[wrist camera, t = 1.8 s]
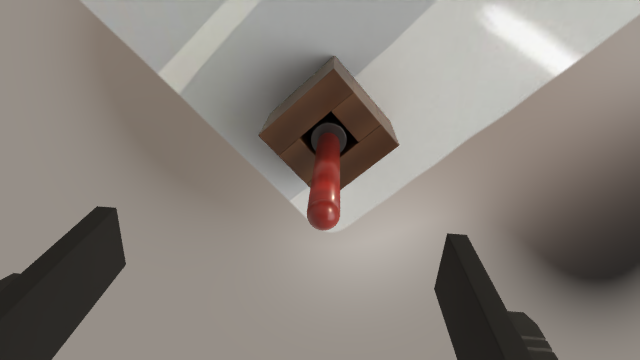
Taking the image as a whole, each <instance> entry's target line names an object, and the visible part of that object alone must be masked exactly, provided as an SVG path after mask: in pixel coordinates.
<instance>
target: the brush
mask: <svg viewBox="0 0 640 360" xmlns="http://www.w3.org/2000/svg"><path fill="white" fill-rule="evenodd" d="M346 142H347V138H346V127H345V126H344V125H343V124H342V123H341V122H340V121H339V120H338V119H337V117H336V116H335V115H334V114H333V113H332V112H331V111H330V112H329V113H328V114H327V115H326V116H324V117H323V118H322V119H321V120H320V121H319V122H317V123H316V124H315V125H314V126H313V130H312V136H311V144H312V146H313V148H314V150H315V151H316V154H315V161H314V168H313V175H312V182H311V188H310V195H309V202H308V209H307V218H308V221H309V222H310V224H311V225H312V226H313V227H314V228H316V229H318V230H329V229H331V228H333V227H334V226H335V225H336V224H337V223H338V221H339V217H340V153H341V152H342V151H343V149H344V148H345V146H346Z"/></svg>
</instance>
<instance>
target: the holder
mask: <svg viewBox="0 0 640 360" xmlns="http://www.w3.org/2000/svg"><path fill="white" fill-rule="evenodd" d="M330 111H331V112H332V113H333V114H334V115H335V116H336V117H337V119H338V120H339V121H340V122H341V123H342V124H343V125H344V126H345V127H346V138H347V142H346V146H345V148H344V149H343V151H342V152H341V153H340V190H341V189H342V188H344V187H345V186H346V185H348V184H349V183H350V182H352V181H353V180H354V179H356V178H357V177H358V176H359V175H361V174H362V173H363V172H365V171H366V170H367V169H369V168H370V167H371V166H373V165H374V164H375V163H377V162H378V161H379V160H381V159H382V158H383V157H384V156H386V155H387V154H388V153H390V152H391V151H392V150H394V149H395V148H396V147H398V146H399V143H398V140H397V138H396V135H395V133H394V130H393V127H392V125H391V122H390V121H389V119H388V118H387V117H386V116H385V115H384V113H383V112H382V111H381V110H380V109H379V108H378V106H377V105H376V104H375V103H374V102H373V100H372V99H371V98H370V97H369V96H368V94H367V93H366V92H365V91H364V90H363V89H362V87H361V86H360V85H359V84H358V83H357V81H356V80H355V79H354V78H353V77H352V76H351V74H350V73H349V72H348V71H347V69H346V68H345V67H344V66H343V65H342V63H341V62H340V61H339V60H338V59H337V58H336V56H334V57H333V58H331V59H330V60H329V61H328V62H327V63H326V64H325V65H324V66H323V67H321V68H320V69H319V70H318V71H317V72H316V73H315V74H314V75H313V76H312V77H310V78H309V79H308V80H307V81H306V82H305V83H304V84H303V85H302V86H300V87H299V88H298V89H297V90H296V91H295V92H294V93H293V94H292V95H290V96H289V97H288V98H287V99H286V100H285V101H284V102H283V103H282V104H281V105H279V106H278V107H277V108H276V109H275V110H274V111H273V112H272V113H271V114H270V115H269V117H268V119H267V121H266V123H265V125H264V126H263V128H262V130H261V132H260V134H259V137H260V138H261V139H262V140H263V141H264V142H265V143H266V144H267V145H268V146H269V147H270V148H271V149H272V150H273V151H274V152H275V153H276V154H277V155H279V157H280V158H281V159H282V160H283V161H284V162H285V163H286V164H287V165H288V166H289V167H290V168H291V169H292V170H293V171H294V172H295V173H296V174H297V175H298V176H299V177H300V178H301V179H302V180H303V181H304V182H305V183H307V185H308V186H309V187H310V188H311V182H312V175H313V168H314V161H315V154H316V151H315V150H314V148H313V146H312V144H311V136H312V130H313V126H314V125H315V124H316V123H317V122H319V121H320V120H321V119H322V118H323V117H324V116H326V115H327V114H328V113H329V112H330Z"/></svg>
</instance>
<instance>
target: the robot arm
mask: <svg viewBox="0 0 640 360" xmlns="http://www.w3.org/2000/svg"><path fill="white" fill-rule="evenodd" d="M125 265H126V262H125V257H124V251H123V245H122V239H121V233H120V227H119V221H118V215H117V209H116V208H111V207H98V206H97V207H96V208H95V209H94V210H93V211H91V212H90V213H89V214H88V215H87V216H86V217H85V218H83V219H82V220H81V221H80V222H79V223H78V224H77V225H76V226H74V227H73V228H72V229H71V230H70V231H69V232H68V233H67V234H65V235H64V236H63V237H62V238H61V239H60V240H58V241H57V242H56V243H55V244H54V245H53V246H52V247H51V248H49V249H48V250H47V251H46V252H45V253H44V254H43V255H42V256H40V257H39V258H38V259H37V260H36V261H35V262H34V263H32V264H31V265H30V266H29V267H28V268H27V269H26V270H25V271H23V272H22V273H21V274H17V273H13V274H11V275H9V276H7V277H5V278H4V279H2V280H0V360H52V358H53V357H54V356H55V355H56V353H57V352H58V351H59V349H60V348H61V347H62V345H63V344H64V343H65V342H66V341H67V339H68V338H69V337H70V335H71V334H72V333H73V332H74V330H75V329H76V328H77V326H78V325H79V324H80V323H81V321H82V320H83V319H84V317H85V316H86V315H87V314H88V312H89V311H90V310H91V309H92V307H93V306H94V305H95V303H96V302H97V301H98V300H99V298H100V297H101V296H102V294H103V293H104V292H105V291H106V289H107V288H108V287H109V285H110V284H111V283H112V282H113V280H114V279H115V278H116V276H117V275H118V274H119V273H120V271H121V270H122V269H123V268H124V266H125ZM434 290H435V293H436V296H437V299H438V302H439V305H440V308H441V311H442V314H443V317H444V320H445V323H446V326H447V329H448V332H449V335H450V338H451V342H452V345H453V347H454V350H455V354H456V357H457V360H558V358H557V357H556V355H555V354H554V353H553V352H552V349H551V347H550V345H549V344H548V342H547V341H545V337H544V335H543V334H542V332H541V330H540V329H539V327H538V325H537V324H536V323H535V322H533V321H532V320H531V319H530V318H529V317H528V316H527V315H526V314H525V313H523V312H511V311H507V309H506V308H505V306H504V304H503V302H502V300H501V298H500V296H499V295H498V293H497V291H496V289H495V287H494V285H493V283H492V282H491V280H490V278H489V276H488V274H487V272H486V270H485V268H484V267H483V265H482V263H481V261H480V259H479V257H478V255H477V254H476V251H475V250H474V248H473V246H472V244H471V242H470V240H469V238H468V237H467V235H459V234H447V237H446V241H445V245H444V250H443V254H442V258H441V262H440V267H439V271H438V275H437V279H436V284H435V288H434Z"/></svg>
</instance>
